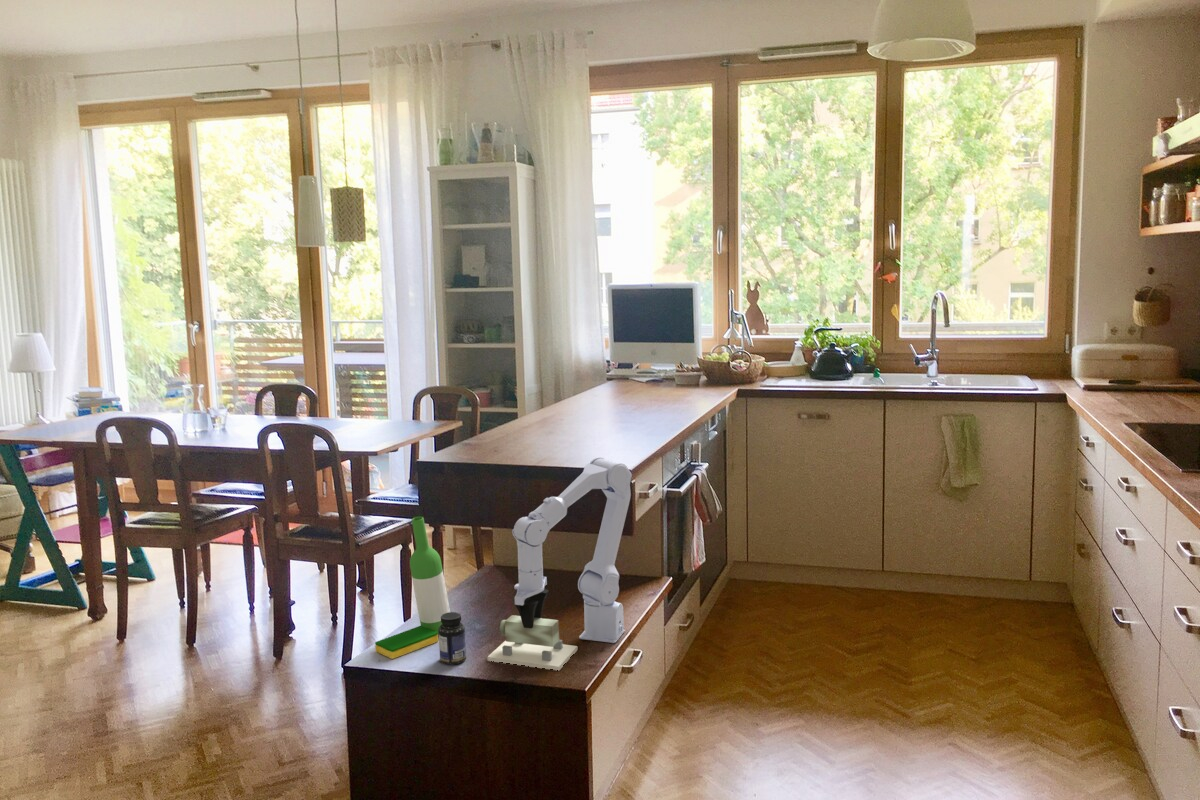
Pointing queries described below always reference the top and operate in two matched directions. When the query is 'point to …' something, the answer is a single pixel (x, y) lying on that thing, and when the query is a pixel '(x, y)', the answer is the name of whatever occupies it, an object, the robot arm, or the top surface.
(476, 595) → the top surface
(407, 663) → the top surface
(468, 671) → the top surface
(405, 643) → the dish sponge
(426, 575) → the wine bottle
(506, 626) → the tall single-stud brick
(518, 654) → the cradle jig
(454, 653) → the pill bottle
